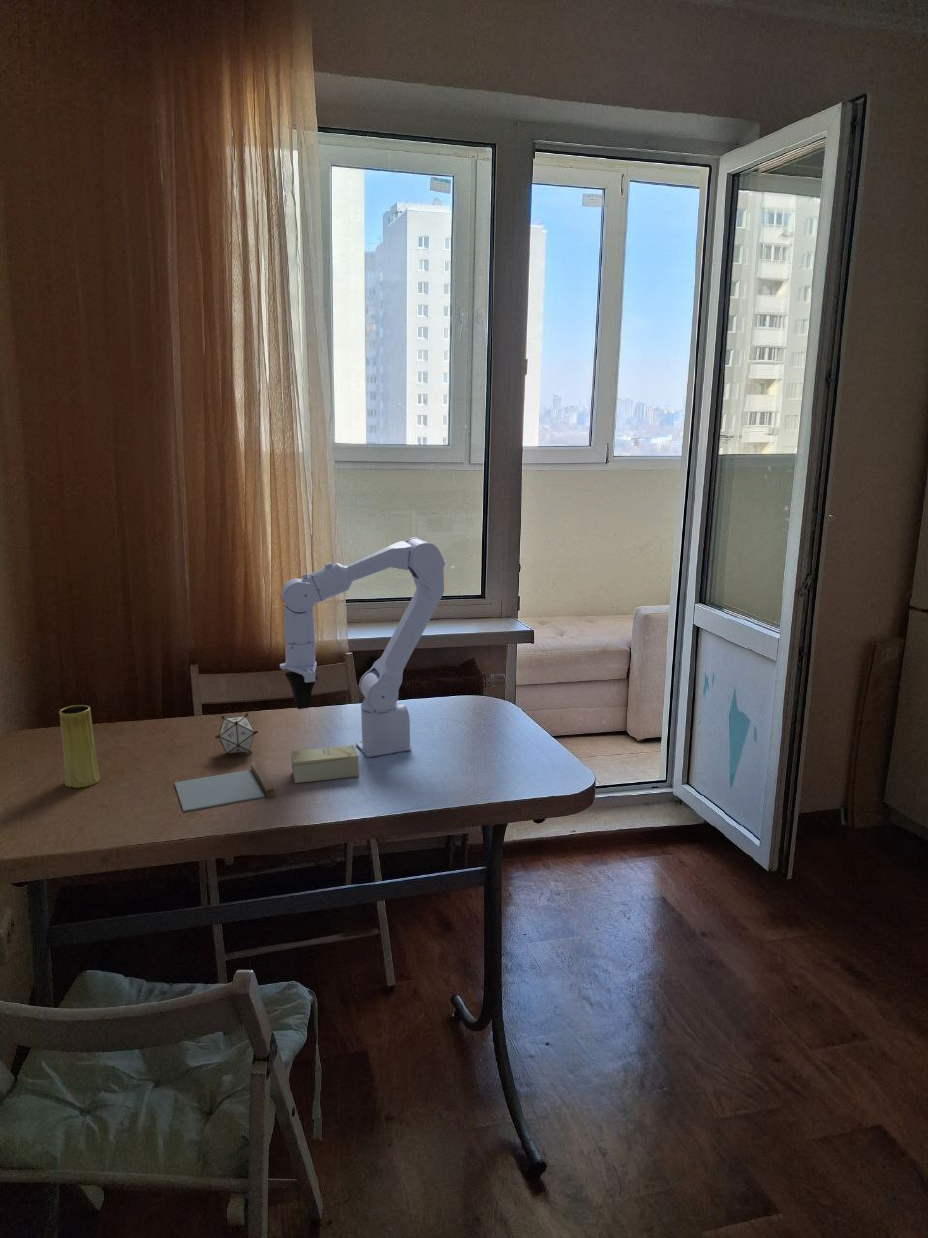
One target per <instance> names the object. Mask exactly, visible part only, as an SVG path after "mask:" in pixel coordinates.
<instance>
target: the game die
mask: <svg viewBox="0 0 928 1238" xmlns="http://www.w3.org/2000/svg"><path fill="white" fill-rule="evenodd" d="M248 716H249V712H246V713H245V715H241V716H235V717H234V716H233V717H225V716H224V715H220V718H221V719H222V722H221V725H220V729H219V732H218V735H215V736H214V739H218V741H220V744H221V746H222V748H223V750H224V751H225V754H224V758H226V757H227V756H228V754H229V755H230V754H235V753H243V752H248V753H249V754H250V755H252V753H253V752H252V751H251V748H252V744H253V740H254V737H255V735H256V734H259V731H258V730H254V728H253V726H252V723H251V722H250V720H249V718H248Z"/></svg>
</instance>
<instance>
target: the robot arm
mask: <svg viewBox="0 0 928 1238" xmlns="http://www.w3.org/2000/svg"><path fill="white" fill-rule="evenodd" d="M445 565H446V562H445V560H444V557H443V555H442V553H441V551H440V549H439V548H438V547H437V546H436V545H435V544H433V543H430V542H427V541H426V540H425V539H424V538H421V537H419V536H416V537H415V536H414V537H410V538H407V539H406V540H401V541H397V542H395V543H393V544H390V545H388V546H386V547H384V548H382V549H379V550H377V551H375V552H373V553H372V554H369V555H367V556H365V557H363V558H360V559H358V560H356V561H354V562H352V563H351V562H350V563H349V564H348V565H344V564H341V563H338V562H335V563H333V564H332V562H330V561H329V562H327V563H325V564H324V567H323V568H321V569H318V570H315V571H314V572H311V573H309V574H307V573H306V572H305V573H302V574H301V578H297V577H296V578H291V579H289V580H288V581H286V582H285V583H284V584H283V586H282V589H281V592H280V598H281V600H282V601H283V603H284V604H285V605H284V609H283V615H284V617H283V631H284V632H283V633H284V649H285V650H284V651H285V652H284V654H285V662H283V663H280V664H279V669H281V670H288V671H287V672H284V675H285V677H286V679H287V681H288V683H289V685H290V688H291V692H292V695H293V699H294V703H295V706H296V708H297V709H298V710H301V709H303V710H304V709H305V710H306V709H309V708H310V707H309V706H310V702H311V697H312V693H313V689H314V686H315V684H316V682H317V680H318V677H319V676H318V674H317V672H316V669H317V661H316V643H315V642H316V641H315V640H316V639H315V617H314V615H313V611H314V610H313V607H314V605H315V604H316V603H321V602H323V601H326V600H328V599H331V598H333V597H335V596H338V595H340V594H342V593H344V592H347V591H349V589H351V585H352V584H353V582H354V581H357V580H361V579H362V578H365V577H367V576H371V575H373V574H376V573H378V572H381V571H385V570H387V569H390V568H392V569H398V570H405V571H409V572H410V573H411V576H412V579H413V582H414V584H415V587H416V590H415V592H414V593H413V595H412V598H411V600H410V602H408V605H407V607H406V608H405V610H404V613H403V614H402V617H401V618H400V619H399V620H400V621H399V622H398V624H397V626H396V628H395V629H394V632H393V633H392V635H391V637H390V639H389V641H388V643H387V645H386V647H385V648H384V651H383V652H382V654H381V656H380V657H379V658H377V660H376V661H374V662H373V664H372V666H371V667H370V669H368V670H367V671H366V672H365V673H364V674H363V675H362V676H361V677H360V680H359V682H358V683H359V685H358V688H359V691H360V693H361V695H362V696H363V697H364V699H363V700H362V703H361V704H360V708H361V711H360V712H361V713H360V714H361V718H360V719H361V741H356V742H355V745H356V746H357V747H358V748H359V750H360V751H362V753H364V755H365V756H366V757H368V758H371V757H377V756H381V755H382V756H383V755H388V754H395V753H402V752H405V751H411V750H412V746H411V729H410V727H411V726H410V725H411V723H410V722H411V721H410V713H409V710H408V708H407V706H406V705H405V704H404V703H398V700H399V690H400V687H401V685H402V683H403V675H404V669H405V667H406V666H407V664H408V661H409V659H410V658H411V656H412V654H413V653H414V650H415V648H416V646H418V642H419V640H420V639H421V637H422V635H423V633H424V631H425V629H426V628H427V625H428V624H429V622H430V620H431V618H432V617H433V614H434V612H435V611H436V609H437V606H438V605H439V603H440V601H441V599H442V597H443V595H444V592H445V576H444V573H445V571H444V569H445Z"/></svg>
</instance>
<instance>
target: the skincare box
mask: <svg viewBox="0 0 928 1238" xmlns="http://www.w3.org/2000/svg"><path fill="white" fill-rule="evenodd" d="M290 753H291V755H290V756H291V758H290V759H291V760H290V763H291V770H292V777H293V781H294V784H299V783H309V782H319V781H328V780H338V779H339V780H340V779H346V778H355V777H360V770H359V769H360V766H359V764H360V763H359V754H358V752H357V750H356V747H355V745H354V744H351V745H344V746H332V747H331V746H330V747H322V748H312V749H310V748H309V749H302V750H301V749H300V750H293V751H292V750H291V752H290Z"/></svg>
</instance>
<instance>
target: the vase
mask: <svg viewBox="0 0 928 1238" xmlns="http://www.w3.org/2000/svg"><path fill="white" fill-rule="evenodd" d="M58 715H59V723H60V724H59V725H60V732H61V733H60V734H61V740H62V741H61V743H62V752H63V753H62V755H63V766H64V767H63V768H64V785H65V786H66V787H67V786H68V787H67V788H71V787H73V789H79V788H80V787H82V788H87V787H90V786H93V785H95V784H96V783H98V782H99V781H100V779H101V775H100V774H99V773H100V772H99V765H98V760H97V759H98V757H97V751H96V747H95V746H96V745H95V737H94V730H93V729H94V728H93V720H92V712H91V707H90V705H86V704H85V705H84V704H78V705H77V704H76V705H69V706H65V707H62V708H61V709H59V711H58ZM80 789H81V788H80Z"/></svg>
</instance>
